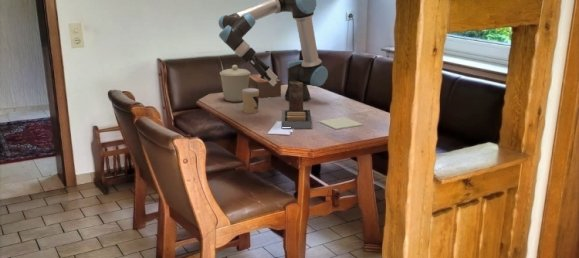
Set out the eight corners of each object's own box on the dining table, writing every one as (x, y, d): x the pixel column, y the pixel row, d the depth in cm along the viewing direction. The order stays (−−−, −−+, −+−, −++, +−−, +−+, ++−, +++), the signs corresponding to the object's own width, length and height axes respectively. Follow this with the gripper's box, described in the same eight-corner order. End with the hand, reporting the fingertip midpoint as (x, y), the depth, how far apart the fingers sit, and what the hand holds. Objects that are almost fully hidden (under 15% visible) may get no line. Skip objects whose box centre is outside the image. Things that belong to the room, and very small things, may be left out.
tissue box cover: (280, 97, 341) (280, 80, 338) (258, 98, 337) (257, 82, 334) (268, 88, 365) (268, 73, 362) (246, 90, 360) (246, 75, 357)
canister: (239, 95, 344) (238, 61, 339) (257, 100, 331) (256, 65, 325) (214, 99, 333) (213, 64, 327) (232, 105, 320) (231, 68, 314)
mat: (344, 118, 292) (344, 117, 292) (362, 125, 279) (362, 124, 279) (318, 122, 284) (318, 121, 284) (336, 129, 271) (336, 128, 271)
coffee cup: (257, 114, 301) (256, 92, 297) (240, 113, 302) (239, 91, 299) (261, 109, 309) (261, 88, 306) (245, 109, 311) (244, 87, 308)
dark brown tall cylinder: (288, 118, 293) (288, 80, 287) (302, 117, 293) (302, 80, 288) (289, 121, 285) (289, 83, 280) (304, 121, 286) (304, 82, 280)
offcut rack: (282, 116, 296) (282, 109, 295) (309, 116, 296) (310, 109, 295) (281, 128, 273) (281, 121, 272) (311, 128, 273) (311, 121, 272)
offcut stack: (287, 124, 281) (287, 111, 279) (305, 124, 281) (305, 112, 279) (287, 126, 277) (287, 114, 275) (305, 126, 277) (305, 114, 275)
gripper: (242, 53, 292) (271, 82, 296) (237, 61, 268) (269, 92, 272) (252, 43, 291) (281, 72, 295) (248, 50, 267) (280, 81, 271)
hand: (275, 81), depth 284 cm, fingers open, 13 cm apart
